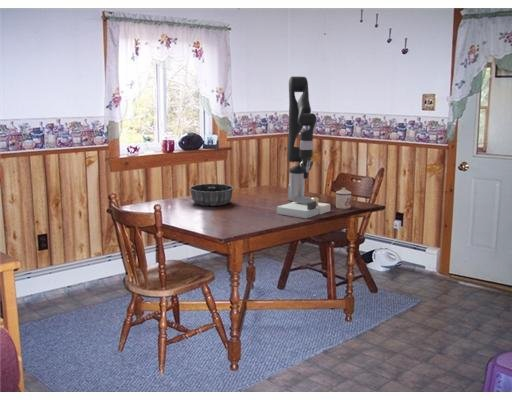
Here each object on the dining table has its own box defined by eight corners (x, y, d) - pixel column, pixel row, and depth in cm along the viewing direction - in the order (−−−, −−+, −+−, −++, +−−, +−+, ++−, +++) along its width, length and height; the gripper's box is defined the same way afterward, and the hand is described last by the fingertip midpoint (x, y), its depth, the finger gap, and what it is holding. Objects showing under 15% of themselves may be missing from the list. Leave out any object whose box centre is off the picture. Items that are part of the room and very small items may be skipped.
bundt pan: (213, 210, 354) (213, 192, 352) (180, 204, 369) (180, 187, 367) (242, 203, 374) (242, 186, 372) (209, 197, 390) (209, 182, 388)
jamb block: (290, 209, 356) (290, 202, 355) (300, 206, 365) (300, 199, 364) (320, 214, 345) (320, 207, 344) (330, 210, 354) (330, 204, 353)
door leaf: (276, 213, 345) (276, 206, 344) (289, 209, 355) (289, 203, 355) (306, 218, 334) (306, 211, 333) (318, 214, 345) (318, 207, 344)
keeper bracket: (307, 209, 338) (307, 202, 337) (312, 207, 342) (313, 200, 342) (310, 210, 336) (310, 202, 336) (316, 208, 341) (316, 201, 340)
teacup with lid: (347, 209, 358) (348, 189, 355) (333, 207, 362) (333, 188, 360) (354, 206, 368) (355, 186, 366) (340, 204, 372) (341, 185, 370)
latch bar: (319, 204, 349) (319, 197, 348) (316, 205, 346) (316, 198, 345) (297, 201, 357) (297, 194, 356) (294, 202, 354) (294, 195, 353)
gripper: (306, 147, 361) (306, 176, 364) (294, 149, 350) (294, 179, 353) (317, 148, 356) (317, 177, 359) (306, 149, 346) (305, 180, 349)
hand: (305, 178), depth 356 cm, fingers closed
